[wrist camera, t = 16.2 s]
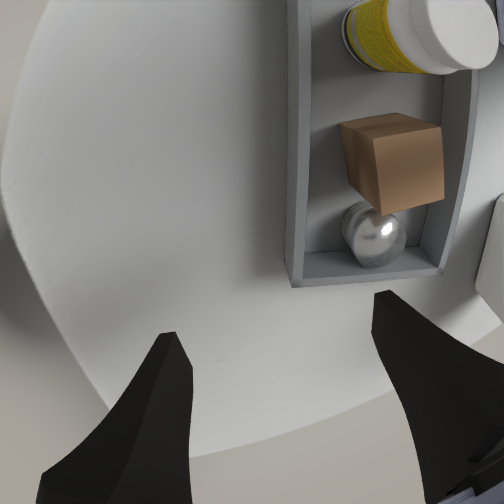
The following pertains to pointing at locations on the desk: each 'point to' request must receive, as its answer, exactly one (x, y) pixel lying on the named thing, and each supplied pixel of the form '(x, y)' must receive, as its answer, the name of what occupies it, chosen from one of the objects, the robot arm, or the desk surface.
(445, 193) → the bay
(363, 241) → the metal cylinder
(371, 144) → the walnut block
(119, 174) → the desk surface
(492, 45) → the supplement bottle
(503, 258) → the photo printer
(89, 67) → the desk surface
